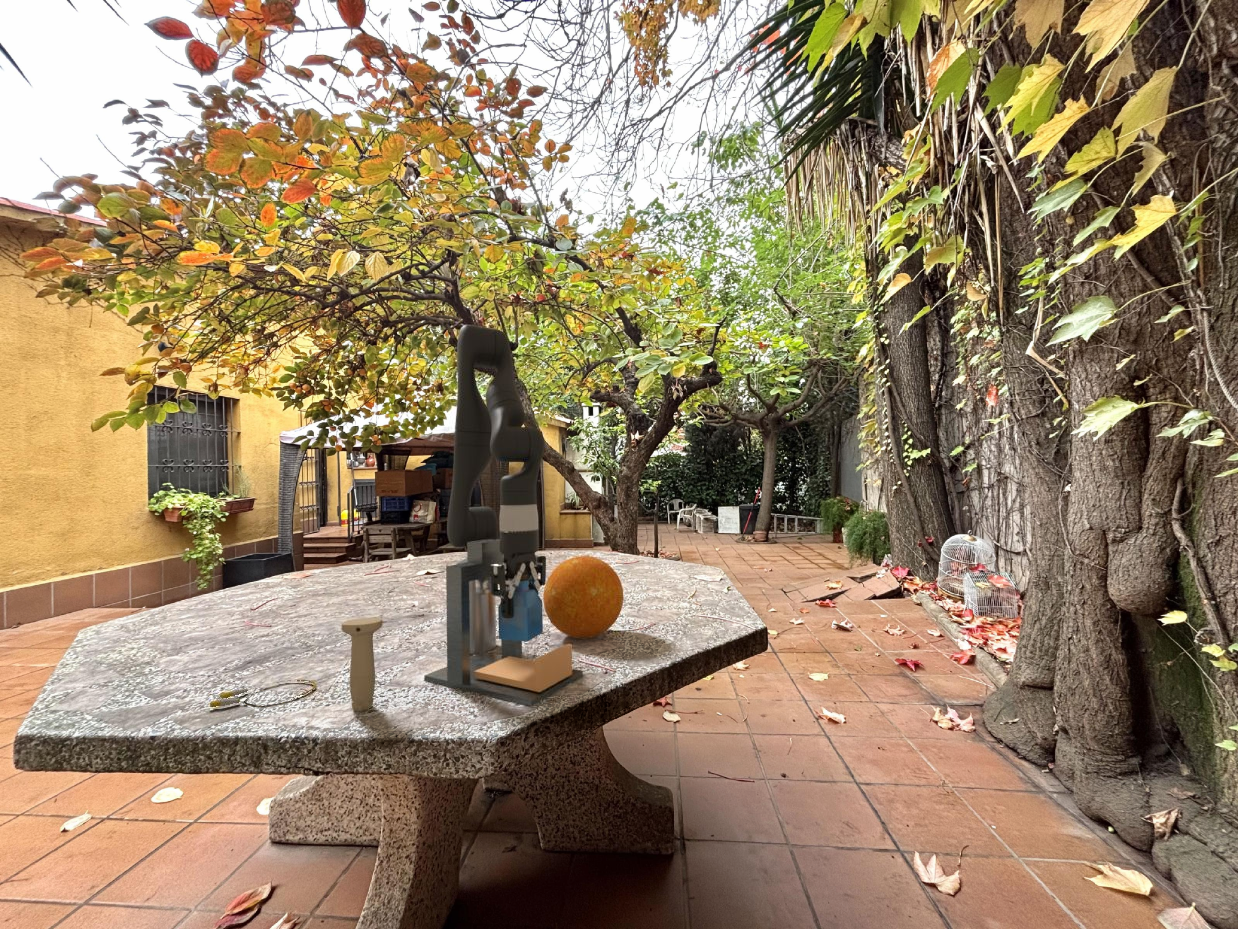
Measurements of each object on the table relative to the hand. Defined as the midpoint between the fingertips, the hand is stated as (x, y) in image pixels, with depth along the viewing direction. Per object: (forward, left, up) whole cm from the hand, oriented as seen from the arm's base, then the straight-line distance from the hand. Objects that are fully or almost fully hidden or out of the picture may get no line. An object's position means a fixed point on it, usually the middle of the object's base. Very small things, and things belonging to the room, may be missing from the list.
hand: (520, 613), depth 104 cm
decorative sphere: (-6, +31, -13) cm, 34 cm away
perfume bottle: (0, 0, -5) cm, 5 cm away
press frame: (-5, 0, -13) cm, 14 cm away
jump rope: (-39, -27, -14) cm, 49 cm away
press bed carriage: (0, 0, -12) cm, 12 cm away
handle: (-17, -22, -13) cm, 31 cm away
